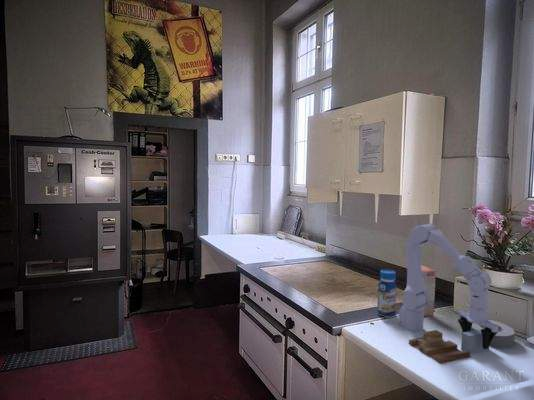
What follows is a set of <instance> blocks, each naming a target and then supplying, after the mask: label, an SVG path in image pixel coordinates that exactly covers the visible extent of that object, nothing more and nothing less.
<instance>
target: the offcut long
mask: <svg viewBox="0 0 534 400" xmlns="http://www.w3.org/2000/svg"><path fill="white" fill-rule="evenodd" d="M443 341H444V339H443V338H442V340H439V341H433V342H428V341H427V340H425V339H418V345H419V346H424V345H429V344H434V343H439V342H443Z"/></svg>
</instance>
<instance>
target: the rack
mask: <svg viewBox="0 0 534 400" xmlns="http://www.w3.org/2000/svg"><path fill="white" fill-rule="evenodd" d="M418 339H423V336H422V337H418V338H412V339H408V345H410V346H412V347H413V348H414V349H416V350H418V351H419V352H421V353H423V354H424V355H425V356H427V357H429V358H430V359H432V360H434V361H435V362H437V363H438V364H441V365H442V364H446V363H447V364H448V363H451V362H454V361H455V362H456V361H460V360H464V359H468V358H472V356H471V353H470V351H468V350H464V351H462V350H461V349H458V344H457V343H455V342H453V341H451V340H445V341H444V340H443V342H439V343H434V344H429V345H424V346H419V345H418Z"/></svg>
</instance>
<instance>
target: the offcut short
mask: <svg viewBox="0 0 534 400" xmlns="http://www.w3.org/2000/svg"><path fill="white" fill-rule="evenodd" d="M422 337H423V339H425V340H427V341H428V342H433V341H439V340H442V339H443V332H441V331H439V330H437V329H434V330H429V331H423V336H422Z"/></svg>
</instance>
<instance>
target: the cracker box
mask: <svg viewBox="0 0 534 400" xmlns="http://www.w3.org/2000/svg"><path fill="white" fill-rule="evenodd" d="M436 272H437V271H436V270H434V269H432V268H429V267H428V266H425V265H422V264H421V274H422V286H423V287H424V288H425V294H426V296H427V303H426V304H425V305H424V317H433V316H434V311H435V310H434V309H435V295H436V294H435V293H436V278H437V277H436V274H437V273H436ZM407 285H408V282H407V281H406V286H407Z"/></svg>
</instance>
